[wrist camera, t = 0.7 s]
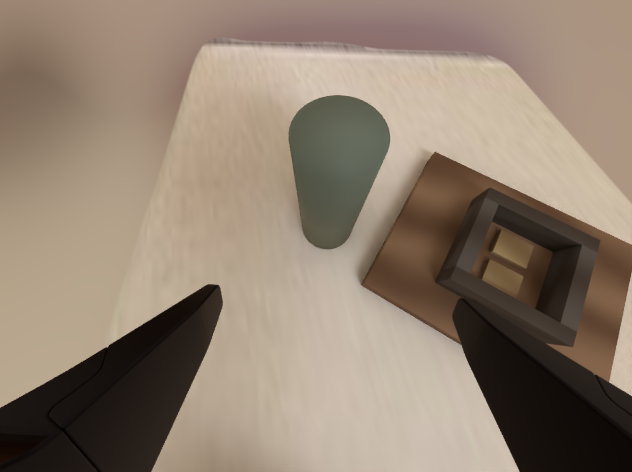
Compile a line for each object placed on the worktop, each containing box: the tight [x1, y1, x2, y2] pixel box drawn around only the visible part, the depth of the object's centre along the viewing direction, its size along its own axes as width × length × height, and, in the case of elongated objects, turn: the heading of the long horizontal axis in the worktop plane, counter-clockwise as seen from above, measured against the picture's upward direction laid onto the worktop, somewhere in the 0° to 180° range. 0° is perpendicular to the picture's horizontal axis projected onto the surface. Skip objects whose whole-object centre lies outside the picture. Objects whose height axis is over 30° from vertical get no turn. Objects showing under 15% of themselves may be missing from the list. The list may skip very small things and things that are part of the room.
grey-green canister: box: [289, 95, 390, 249], centre depth 18 cm, size 5×5×13 cm
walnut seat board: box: [361, 152, 632, 382], centre depth 21 cm, size 16×20×4 cm
